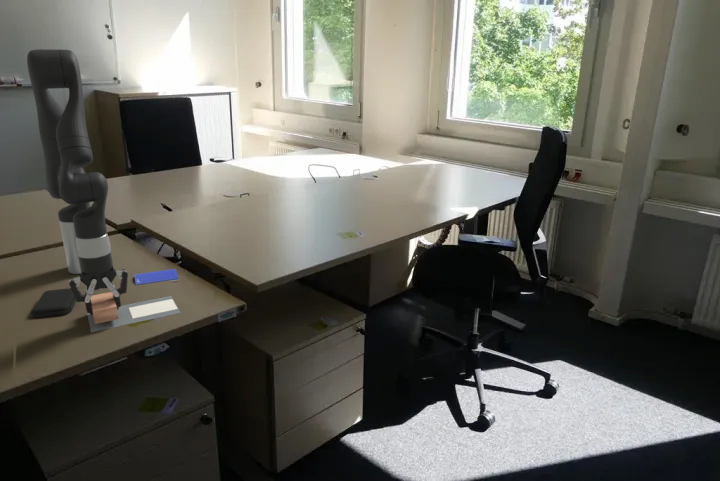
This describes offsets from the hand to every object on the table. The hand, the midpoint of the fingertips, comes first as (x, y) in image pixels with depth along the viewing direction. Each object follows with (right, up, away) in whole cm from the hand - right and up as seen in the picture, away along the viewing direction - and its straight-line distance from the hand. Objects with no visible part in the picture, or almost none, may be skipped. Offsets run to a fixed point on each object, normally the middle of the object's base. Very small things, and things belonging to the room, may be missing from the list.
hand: (104, 310), depth 140 cm
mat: (+6, -2, +4) cm, 8 cm away
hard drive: (+4, +6, +27) cm, 28 cm away
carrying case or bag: (-16, 0, +8) cm, 18 cm away
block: (0, -1, 0) cm, 1 cm away
